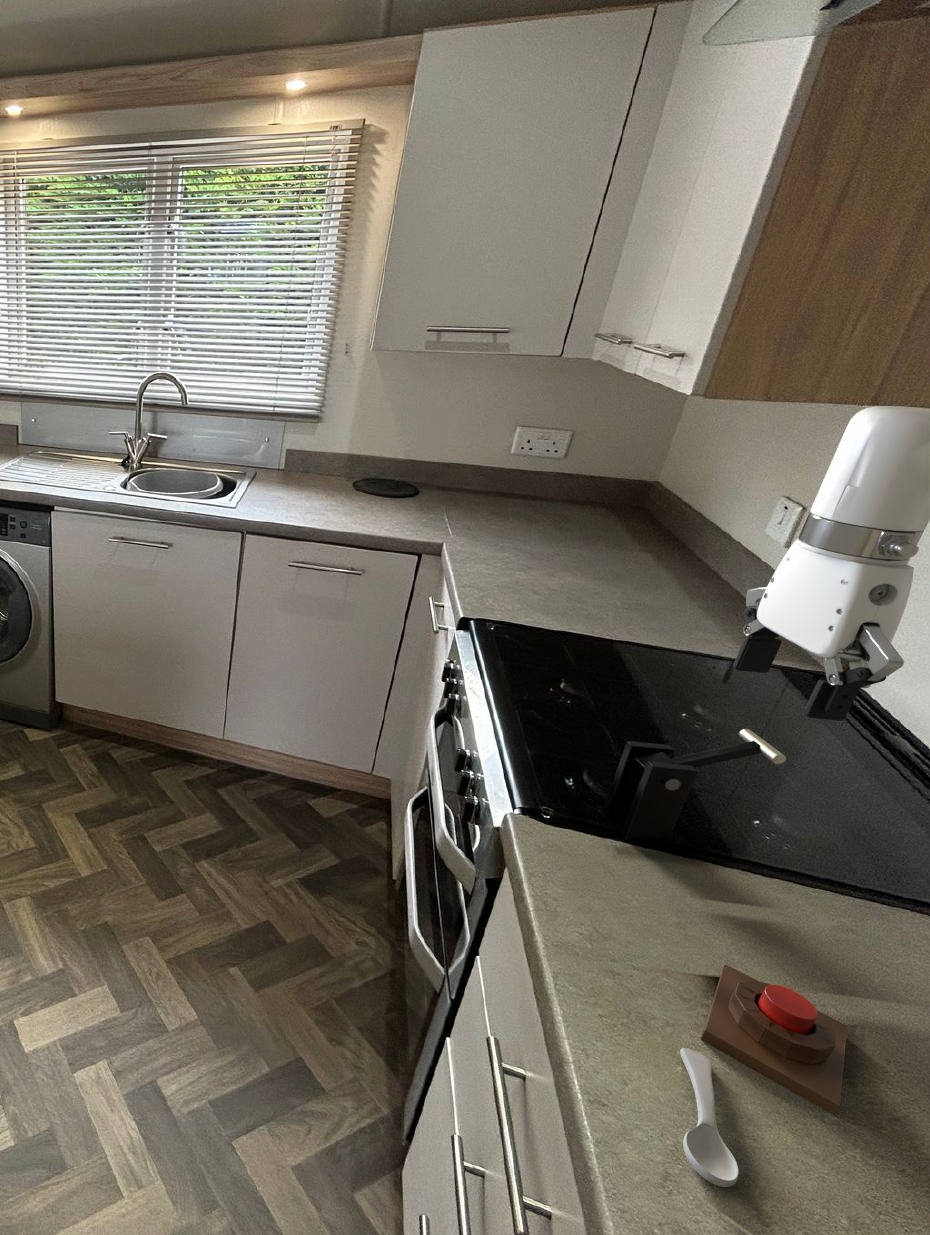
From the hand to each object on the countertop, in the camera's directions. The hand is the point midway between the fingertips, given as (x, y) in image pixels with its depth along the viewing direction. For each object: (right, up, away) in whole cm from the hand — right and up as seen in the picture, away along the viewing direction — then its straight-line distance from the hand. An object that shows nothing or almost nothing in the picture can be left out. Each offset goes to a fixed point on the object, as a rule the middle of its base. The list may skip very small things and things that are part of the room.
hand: (783, 692), depth 74 cm
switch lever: (-4, -9, +4) cm, 11 cm away
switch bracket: (-9, -19, +9) cm, 23 cm away
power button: (-15, -25, -14) cm, 33 cm away
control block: (-15, -28, -14) cm, 34 cm away
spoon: (-27, -30, -20) cm, 45 cm away
